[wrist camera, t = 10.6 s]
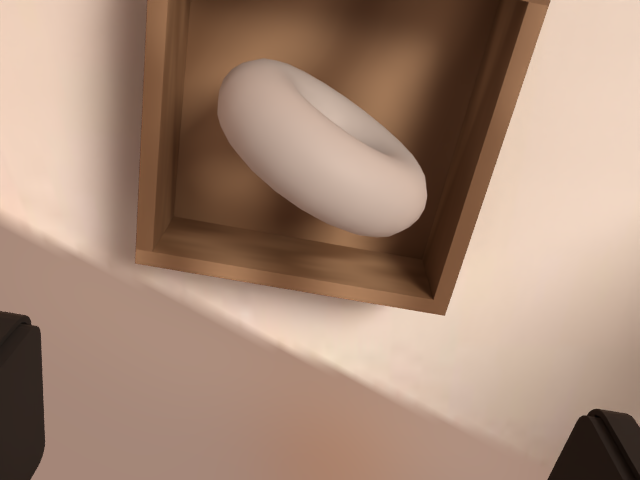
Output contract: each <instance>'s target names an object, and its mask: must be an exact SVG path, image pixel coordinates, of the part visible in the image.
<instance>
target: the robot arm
mask: <svg viewBox="0 0 640 480" xmlns="http://www.w3.org/2000/svg"><path fill="white" fill-rule="evenodd" d="M41 356H42V355H41V333H40V329H39V327H37V326H32V325H31V320H30V318H29V317H28V316H26V315H21V314H14V313H8V312H2V311H0V480H30V479H31V477H32V476H33V474H34V472H35V470H36V469H37V467H38V465H39V463H40V461H41V458H42V456H43V452H44V447H45V431H44V406H43V381H42V357H41ZM548 480H640V427H639V426H638V424H637V423H636V421H635V420H634V419H633V417H632V416H630V415H628V414H625V413H619V412H613V411H607V410H601V409H593V410H592V411H590V412H589V413H588V415H587V416H581V417H580V418H579V419H578V421H577V422H576V424H575V426H574V428H573V430H572V432H571V434H570V436H569V438H568V440H567V442H566V444H565V446H564V448H563V450H562V452H561V454H560V456H559V458H558V460H557V462H556V464H555V466H554V468H553V470H552V472H551V474H550V476H549V478H548Z"/></svg>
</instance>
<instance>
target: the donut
mask: <svg viewBox="0 0 640 480" xmlns="http://www.w3.org/2000/svg"><path fill="white" fill-rule="evenodd" d="M217 115H218V119H219V122H220V125H221V128H222V130H223V132H224V134H225V136H226V138H227V139H228V141H229V143H230V145H231V146H232V147H233V149H234V150H235V151H236V152H237V154H238V155H239V156H240V157H241V158H242V159H243V161H244V162H245V163H246V164H247V165H248V167H249V168H250V169H251V170H252V171H253V172H254V173H255V174H256V175H257V176H259V177H260V178H261V179H262V180H263V181H264V182H265V183H267V184H268V185H269V186H270V187H271V188H272V189H273V190H274V191H276V192H277V193H279V194H280V195H281V196H283V197H284V198H286V199H287V200H288V201H290V202H291V203H293V204H294V205H296V206H297V207H298V208H300V209H301V210H303V211H305V212H307V213H308V214H310V215H312V216H314V217H316V218H318V219H319V220H321V221H323V222H325V223H327V224H329V225H332V226H334V227H337V228H340V229H342V230H345V231H348V232H350V233H354V234H357V235H360V236H369V237H389V236H392V235H394V234H396V233H399V232H401V231H403V230H405V229H406V228H408V227H410V226H411V225H412V224H413V223H414V222H416V221H417V220H418V219H419V217H420V216H421V214H422V212H423V210H424V209H425V205H426V200H427V190H426V181H425V175H424V173H423V171H422V169H421V167H420V165H419V164H418V162H417V161H416V159H415V158H414V156H413V155H412V154H411V153H410V152H409V151H408V149H407V148H406V147H405V146H404V145H403V144H402V143H401V142H400V141H399V140H398V139H397V138H396V137H395V136H394V135H392V134H391V133H390V132H389V131H388V130H387V129H386V128H385V127H384V126H382V125H381V124H380V123H379V122H377V121H376V120H375V119H374V118H373V117H371V116H370V115H369V114H368V113H366V112H365V111H364V110H363V109H361V108H360V107H358V106H357V105H356V104H354V103H353V102H352V101H350V100H349V99H348V98H346V97H345V96H343V95H342V94H340V93H339V92H337V91H336V90H334V89H333V88H331V87H329V86H328V85H326V84H325V83H323V82H322V81H320V80H318V79H316V78H315V77H313V76H311V75H309V74H308V73H306V72H304V71H302V70H300V69H298V68H296V67H294V66H291V65H289V64H287V63H283V62H280V61H276V60H271V59H265V58H262V59H257V60H252V61H248V62H244V63H242V64H240V65H238V66H236V67H235V68H233V69H232V70H231V71H230V72H229V73H228V74H227V76H226V77H225V78H224V79H223V82H222V85H221V87H220V90H219V97H218V111H217Z"/></svg>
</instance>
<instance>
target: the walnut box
mask: <svg viewBox="0 0 640 480" xmlns="http://www.w3.org/2000/svg"><path fill="white" fill-rule="evenodd" d="M549 3H550V0H147V19H146V40H145V62H144V83H143V105H142V126H141V148H140V169H139V190H138V212H137V233H136V255H135V263H136V264H142V265H148V266H154V267H160V268H166V269H172V270H178V271H183V272H189V273H195V274H201V275H207V276H213V277H219V278H225V279H231V280H237V281H243V282H249V283H254V284H260V285H266V286H272V287H278V288H284V289H290V290H296V291H302V292H308V293H314V294H320V295H326V296H331V297H337V298H343V299H349V300H355V301H361V302H367V303H373V304H379V305H385V306H391V307H397V308H402V309H408V310H414V311H420V312H426V313H432V314H438V315H444V316H445V313H446V310H447V307H448V304H449V301H450V299H451V296H452V293H453V290H454V287H455V284H456V281H457V278H458V275H459V272H460V269H461V266H462V263H463V260H464V257H465V254H466V251H467V248H468V245H469V242H470V239H471V236H472V233H473V230H474V227H475V224H476V221H477V218H478V215H479V212H480V209H481V206H482V203H483V200H484V197H485V194H486V191H487V188H488V185H489V182H490V179H491V176H492V173H493V170H494V167H495V164H496V161H497V158H498V155H499V152H500V149H501V146H502V143H503V140H504V137H505V134H506V132H507V129H508V126H509V123H510V120H511V117H512V114H513V111H514V108H515V105H516V102H517V99H518V96H519V93H520V90H521V87H522V84H523V81H524V78H525V75H526V72H527V69H528V66H529V63H530V60H531V57H532V54H533V51H534V48H535V45H536V42H537V39H538V36H539V33H540V30H541V27H542V24H543V21H544V18H545V15H546V12H547V9H548V6H549ZM262 58H265V59H271V60H276V61H280V62H283V63H287V64H289V65H291V66H294V67H296V68H298V69H300V70H302V71H304V72H306V73H308V74H309V75H311V76H313V77H315V78H316V79H318V80H320V81H322V82H323V83H325V84H326V85H328V86H329V87H331V88H333V89H334V90H336V91H337V92H339V93H340V94H342V95H343V96H345V97H346V98H348V99H349V100H350V101H352V102H353V103H354V104H356V105H357V106H358V107H360V108H361V109H363V110H364V111H365V112H366V113H368V114H369V115H370V116H371V117H373V118H374V119H375V120H376V121H377V122H379V123H380V124H381V125H382V126H384V127H385V128H386V129H387V130H388V131H389V132H390V133H391V134H392V135H394V136H395V137H396V138H397V139H398V140H399V141H400V142H401V143H402V144H403V145H404V146H405V147H406V148H407V149H408V151H409V152H410V153H411V154H412V155H413V156H414V158H415V159H416V161H417V162H418V164H419V165H420V167H421V169H422V171H423V173H424V175H425V181H426V190H427V200H426V205H425V209H424V210H423V212H422V214H421V216H420V217H419V219H418V220H417V221H416V222H414V223H413V224H412V225H411V226H410V227H408V228H406V229H405V230H403V231H401V232H399V233H396V234H394V235H392V236H389V237H369V236H360V235H357V234H354V233H350V232H348V231H345V230H342V229H340V228H337V227H334V226H332V225H329V224H327V223H325V222H323V221H321V220H319V219H318V218H316V217H314V216H312V215H310V214H308V213H307V212H305V211H303V210H301V209H300V208H298V207H297V206H296V205H294V204H293V203H291V202H290V201H288V200H287V199H286V198H284V197H283V196H281V195H280V194H279V193H277V192H276V191H274V190H273V189H272V188H271V187H270V186H269V185H268V184H267V183H265V182H264V181H263V180H262V179H261V178H260V177H259V176H257V175H256V174H255V173H254V172H253V171H252V170H251V169H250V168H249V167H248V165H247V164H246V163H245V162H244V161H243V159H242V158H241V157H240V156H239V155H238V154H237V152H236V151H235V150H234V149H233V147H232V146H231V145H230V143H229V141H228V139H227V138H226V136H225V134H224V132H223V130H222V128H221V125H220V122H219V119H218V115H217V111H218V97H219V90H220V87H221V85H222V82H223V79H224V78H225V77H226V76H227V74H228V73H229V72H230V71H231V70H232V69H233V68H235V67H236V66H238V65H240V64H242V63H244V62H248V61H252V60H257V59H262Z"/></svg>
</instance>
